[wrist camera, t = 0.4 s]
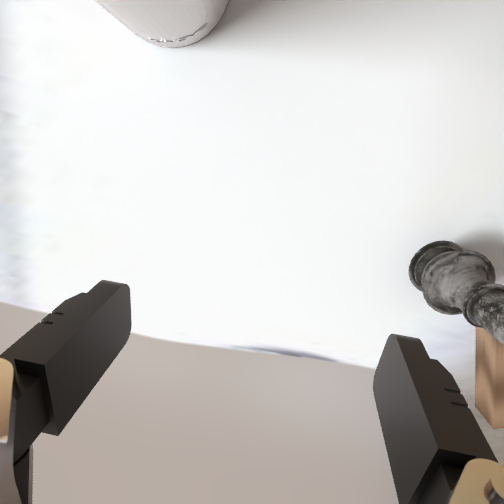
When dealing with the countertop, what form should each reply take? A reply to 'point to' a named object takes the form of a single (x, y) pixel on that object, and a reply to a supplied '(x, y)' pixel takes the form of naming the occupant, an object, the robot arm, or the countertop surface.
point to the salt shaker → (460, 285)
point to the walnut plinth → (490, 378)
